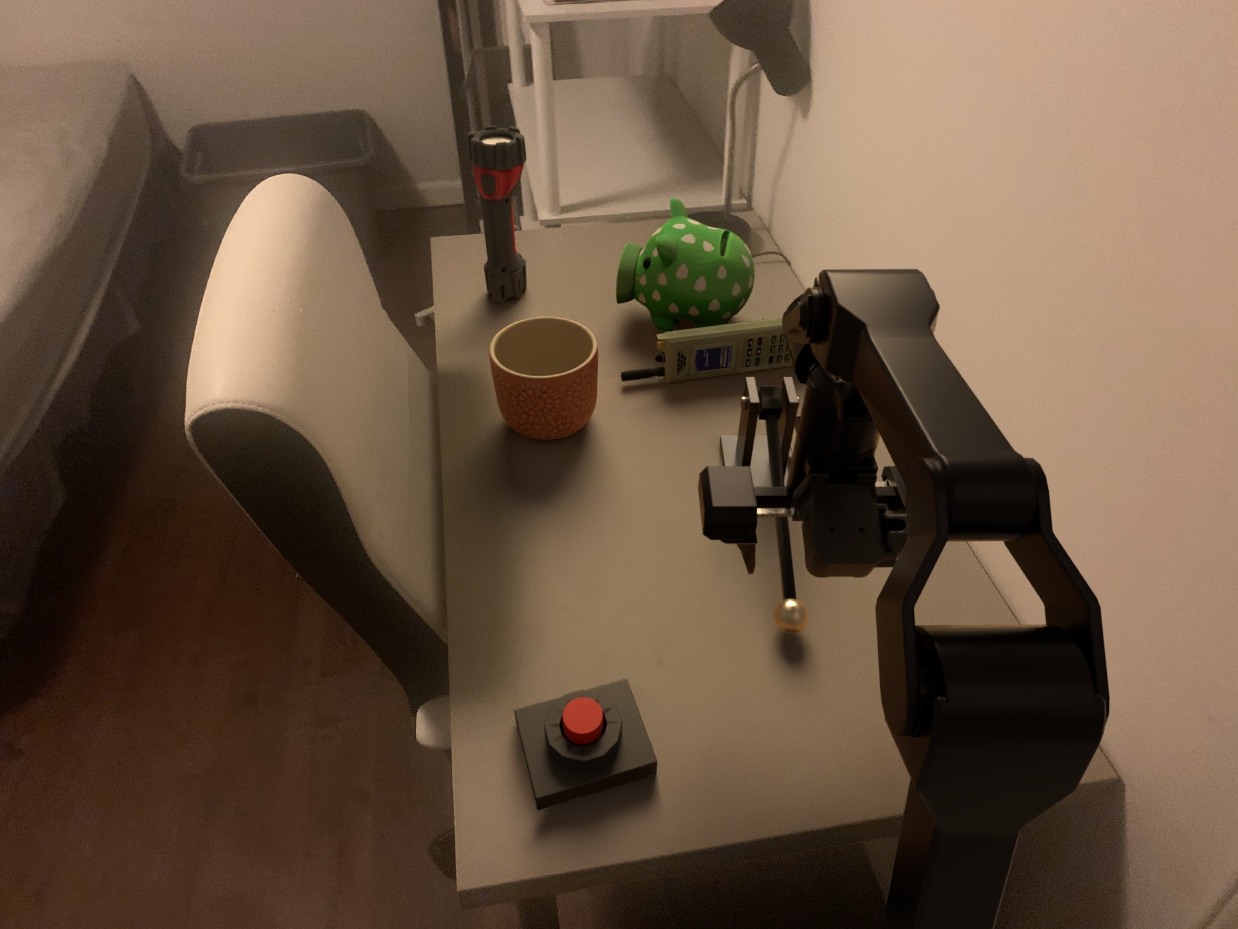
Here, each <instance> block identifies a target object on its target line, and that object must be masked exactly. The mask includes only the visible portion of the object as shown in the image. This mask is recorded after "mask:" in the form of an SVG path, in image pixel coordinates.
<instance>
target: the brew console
mask: <svg viewBox="0 0 1238 929" xmlns="http://www.w3.org/2000/svg"><path fill="white" fill-rule="evenodd" d="M582 697H585V698H590V699H592V700H594V701H596V702H597V703H598V704H599V705H600V707H601V709H602V712H603V730H602V733H601V735H600V736H599V738H598V739H597V740H595V741H594V742H592V743H590V744H585V745H580V744H576V743H573V742H572V741H570V740H569V739H568V738H567V737H566V735H565V733H564V728H563V717H562V716H563V711H564V708H565V707H566V705H567V704H568V703H569V702H571V701H572V700H574V699H577V698H582ZM513 713H514V720H515V725H516V728H517V732H518V737H519V741H520V745H521V749H522V752H523V758H524V762H525V765H526V766H525V767H526V770H527V773H528V774H527V775H528V778H529V782H530V786H531V790H532V795H533V800H534V803H535V807H536V810H537V811H538V812H539V811H543V810H546V809H550V808H553V807H557V806H559V805H563V804H564V803H568V802H572V801H576V800H578V799H582V798H585V797H587V796H588V797H589V796H591V795H595V794H597V793H601V792H604V791H607V790H611V789H613V788H616V787H620V786H623V785H627V784H629V783H632V782H636V781H639V780H643V779H645V778H649V777H652V776H655V775H657V773H658V759H657V756H656V754H655V751H654V749H653V745H652V743H651V740H650V737H649V735H648V732H647V729H646V727H645V724H644V721H643V718H642V716H641V713H640V709H639V707H638V705H637V703H636V699H635V697H634V694H633V691H632V688H631V686H630V684H629V681H628V679H627V678H624V679H620V680H616V681H612V682H609V683H606V684H601V685H598V686H595V687H591V688H587V689H580V690H575V691H572V692H568V693H566V694H562V696H559V697H555V698H552V699H548V700H545V701H542V702H537V703H534V704H531V705H526V706H524V707H520V708H516V709H514V710H513Z"/></svg>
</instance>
